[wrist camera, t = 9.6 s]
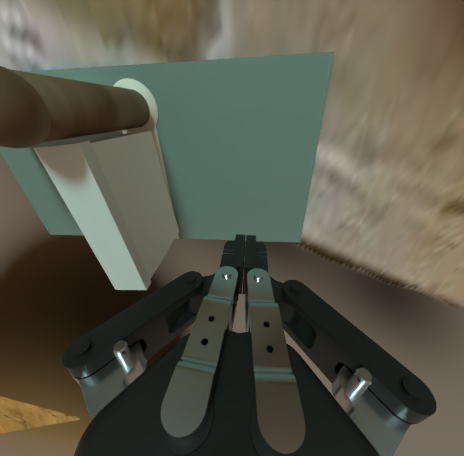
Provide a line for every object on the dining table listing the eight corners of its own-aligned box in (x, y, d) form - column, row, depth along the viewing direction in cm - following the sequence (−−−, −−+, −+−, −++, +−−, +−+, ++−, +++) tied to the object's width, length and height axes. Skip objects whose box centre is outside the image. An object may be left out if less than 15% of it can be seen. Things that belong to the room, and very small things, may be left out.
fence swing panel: (124, 132, 15) (33, 148, 9) (152, 129, 15) (78, 143, 8) (159, 233, 20) (115, 289, 13) (181, 232, 19) (146, 290, 13)
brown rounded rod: (126, 128, 16) (-48, 155, 7) (115, 88, 14) (-122, 54, 5) (157, 127, 15) (20, 154, 6) (149, 87, 14) (-40, 47, 5)
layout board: (53, 232, 22) (49, 234, 22) (-40, 77, 15) (-49, 76, 14) (298, 240, 19) (300, 243, 19) (332, 53, 12) (334, 51, 12)
